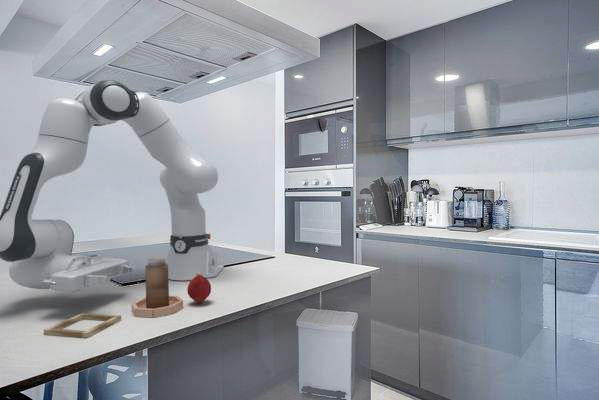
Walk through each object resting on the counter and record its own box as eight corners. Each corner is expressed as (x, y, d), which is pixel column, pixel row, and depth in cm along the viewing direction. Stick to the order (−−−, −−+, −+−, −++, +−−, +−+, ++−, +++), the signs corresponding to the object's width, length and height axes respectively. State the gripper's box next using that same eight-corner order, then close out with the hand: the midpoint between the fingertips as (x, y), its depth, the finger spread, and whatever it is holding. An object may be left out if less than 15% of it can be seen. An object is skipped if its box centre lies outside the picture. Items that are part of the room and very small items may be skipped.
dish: (150, 301, 94) (150, 294, 94) (189, 303, 92) (189, 296, 92) (122, 315, 83) (122, 308, 83) (165, 318, 81) (165, 310, 81)
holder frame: (82, 317, 82) (82, 313, 82) (121, 320, 80) (121, 315, 80) (43, 334, 72) (43, 329, 72) (86, 338, 70) (86, 333, 70)
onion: (213, 299, 95) (212, 269, 94) (208, 306, 89) (208, 275, 89) (191, 300, 94) (190, 270, 94) (184, 307, 89) (184, 275, 88)
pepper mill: (154, 302, 90) (153, 257, 90) (173, 303, 89) (172, 257, 89) (141, 309, 85) (140, 261, 85) (161, 310, 84) (160, 261, 84)
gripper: (35, 269, 81) (89, 271, 78) (101, 253, 101) (145, 255, 98) (36, 297, 81) (89, 300, 78) (101, 276, 101) (145, 278, 99)
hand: (121, 275), depth 89 cm, fingers open, 8 cm apart
